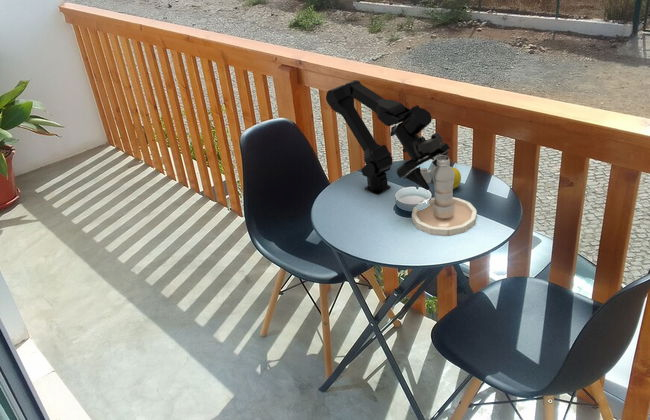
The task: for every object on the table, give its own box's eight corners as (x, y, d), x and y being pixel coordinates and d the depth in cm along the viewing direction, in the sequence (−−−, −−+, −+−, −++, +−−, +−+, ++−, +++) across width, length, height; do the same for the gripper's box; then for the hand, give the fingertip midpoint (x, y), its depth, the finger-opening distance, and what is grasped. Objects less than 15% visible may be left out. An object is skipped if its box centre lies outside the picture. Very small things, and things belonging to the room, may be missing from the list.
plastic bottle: (441, 208, 186) (440, 151, 176) (459, 215, 182) (459, 157, 171) (428, 216, 183) (426, 159, 173) (445, 224, 179) (445, 165, 168)
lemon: (460, 193, 195) (461, 171, 190) (443, 192, 196) (443, 171, 192) (460, 184, 199) (461, 163, 195) (444, 184, 200) (444, 163, 196)
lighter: (418, 183, 203) (418, 162, 199) (418, 181, 204) (417, 160, 200) (439, 183, 202) (439, 162, 198) (439, 180, 203) (439, 159, 199)
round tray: (400, 220, 184) (399, 215, 183) (438, 196, 194) (438, 190, 193) (449, 242, 171) (449, 236, 170) (488, 215, 182) (488, 209, 181)
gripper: (402, 138, 168) (432, 184, 167) (445, 117, 178) (474, 161, 176) (384, 155, 178) (412, 199, 176) (425, 134, 188) (453, 176, 186)
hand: (438, 183), depth 178 cm, fingers open, 9 cm apart
